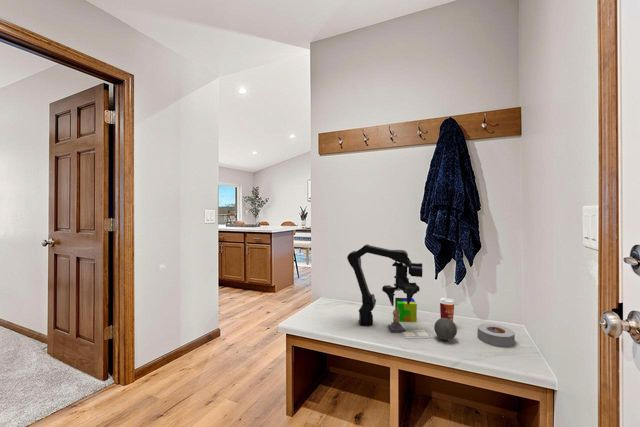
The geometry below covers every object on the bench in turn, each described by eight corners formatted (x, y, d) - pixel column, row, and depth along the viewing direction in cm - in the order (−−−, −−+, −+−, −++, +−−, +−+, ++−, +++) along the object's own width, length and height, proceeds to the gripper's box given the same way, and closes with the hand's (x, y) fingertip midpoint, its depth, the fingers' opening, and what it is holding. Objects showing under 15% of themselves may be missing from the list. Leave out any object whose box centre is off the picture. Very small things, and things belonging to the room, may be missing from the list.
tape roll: (493, 331, 157) (493, 321, 157) (522, 344, 143) (522, 333, 143) (470, 335, 152) (470, 325, 152) (497, 350, 138) (498, 338, 137)
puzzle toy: (412, 315, 179) (413, 298, 178) (416, 322, 169) (416, 304, 168) (395, 314, 180) (395, 297, 179) (397, 321, 170) (398, 303, 169)
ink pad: (391, 332, 155) (391, 329, 155) (387, 327, 162) (387, 324, 162) (405, 332, 155) (405, 329, 155) (400, 326, 162) (400, 323, 162)
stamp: (393, 328, 156) (393, 311, 156) (391, 325, 160) (391, 308, 160) (401, 328, 157) (401, 311, 156) (398, 325, 161) (399, 308, 160)
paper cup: (447, 330, 158) (448, 303, 157) (435, 324, 165) (436, 298, 164) (458, 327, 162) (458, 300, 161) (445, 322, 169) (446, 296, 168)
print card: (405, 338, 149) (405, 337, 149) (400, 331, 157) (400, 330, 157) (432, 337, 150) (432, 337, 150) (425, 330, 157) (425, 330, 157)
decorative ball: (436, 343, 144) (436, 322, 143) (432, 334, 154) (432, 314, 153) (459, 344, 142) (459, 323, 142) (453, 335, 152) (454, 315, 151)
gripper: (393, 280, 149) (392, 312, 150) (426, 278, 154) (425, 308, 155) (382, 274, 160) (381, 304, 160) (413, 272, 165) (412, 301, 166)
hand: (400, 305), depth 160 cm, fingers open, 9 cm apart
